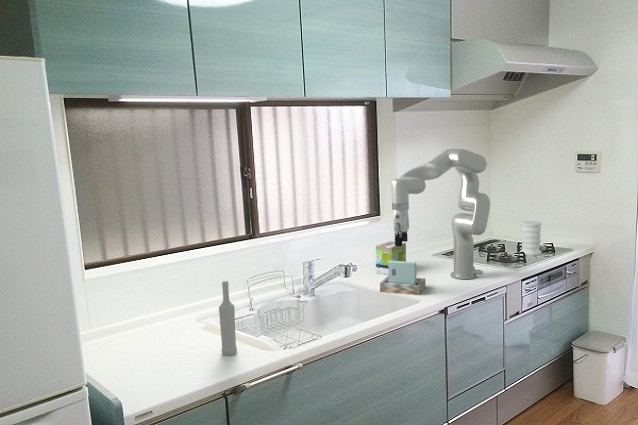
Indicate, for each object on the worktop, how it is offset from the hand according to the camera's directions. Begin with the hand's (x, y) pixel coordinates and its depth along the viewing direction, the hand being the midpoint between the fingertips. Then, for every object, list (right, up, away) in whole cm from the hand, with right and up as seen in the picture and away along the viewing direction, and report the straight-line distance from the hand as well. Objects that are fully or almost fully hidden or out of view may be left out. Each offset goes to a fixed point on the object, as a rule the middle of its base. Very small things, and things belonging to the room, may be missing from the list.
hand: (401, 243), depth 250 cm
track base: (+2, -21, +6) cm, 22 cm away
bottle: (-68, -34, -63) cm, 98 cm away
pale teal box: (+1, -20, +3) cm, 21 cm away
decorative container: (+85, -10, +69) cm, 110 cm away
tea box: (0, -17, +39) cm, 42 cm away
